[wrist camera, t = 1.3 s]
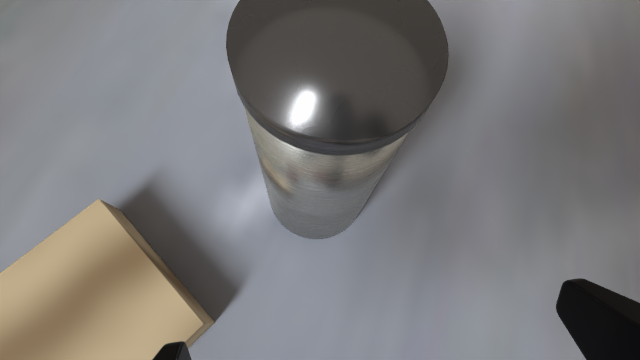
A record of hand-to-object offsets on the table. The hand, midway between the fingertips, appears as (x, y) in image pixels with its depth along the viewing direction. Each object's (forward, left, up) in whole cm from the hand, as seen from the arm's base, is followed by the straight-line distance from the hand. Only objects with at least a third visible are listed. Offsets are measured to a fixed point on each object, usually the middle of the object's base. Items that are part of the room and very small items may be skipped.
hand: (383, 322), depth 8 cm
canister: (+6, -4, -13) cm, 15 cm away
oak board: (+9, +10, -13) cm, 19 cm away
